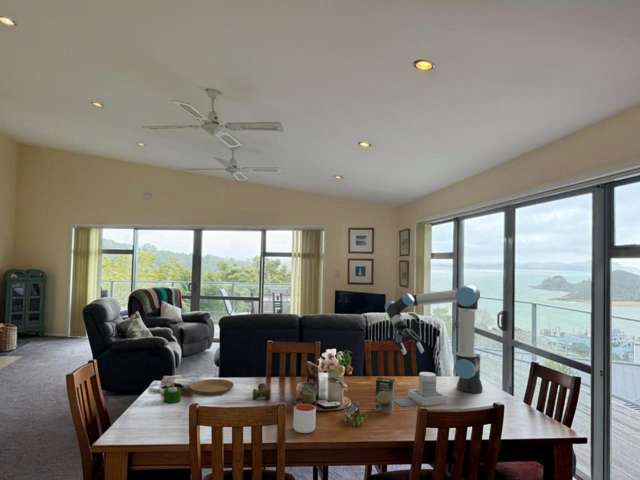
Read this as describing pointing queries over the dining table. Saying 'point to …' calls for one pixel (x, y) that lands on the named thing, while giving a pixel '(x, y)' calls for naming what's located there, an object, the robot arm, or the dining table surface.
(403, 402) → the slate mat
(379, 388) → the coffee box
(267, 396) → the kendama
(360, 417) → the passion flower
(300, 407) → the cup
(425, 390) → the supplement tub
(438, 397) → the open box
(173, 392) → the candle
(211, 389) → the plant saucer
